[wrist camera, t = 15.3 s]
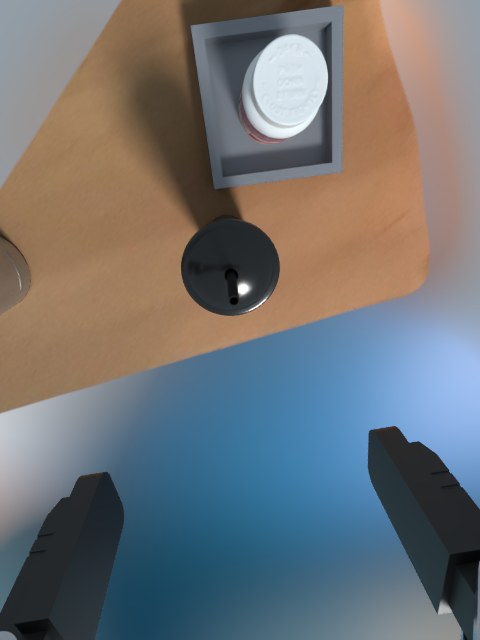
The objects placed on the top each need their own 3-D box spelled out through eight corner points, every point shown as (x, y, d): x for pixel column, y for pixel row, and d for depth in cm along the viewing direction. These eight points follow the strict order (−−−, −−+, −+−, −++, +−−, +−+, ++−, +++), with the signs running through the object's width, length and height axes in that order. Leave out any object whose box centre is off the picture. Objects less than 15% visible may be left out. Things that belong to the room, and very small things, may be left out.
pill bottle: (288, 152, 34) (317, 146, 24) (230, 134, 33) (234, 118, 23) (309, 83, 32) (351, 43, 22) (247, 60, 31) (261, 8, 21)
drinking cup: (274, 234, 38) (323, 296, 20) (229, 282, 40) (237, 376, 22) (224, 186, 36) (229, 206, 18) (179, 239, 38) (143, 305, 20)
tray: (214, 188, 36) (214, 189, 34) (192, 36, 30) (190, 25, 28) (334, 171, 36) (342, 172, 34) (334, 16, 30) (343, 4, 28)
